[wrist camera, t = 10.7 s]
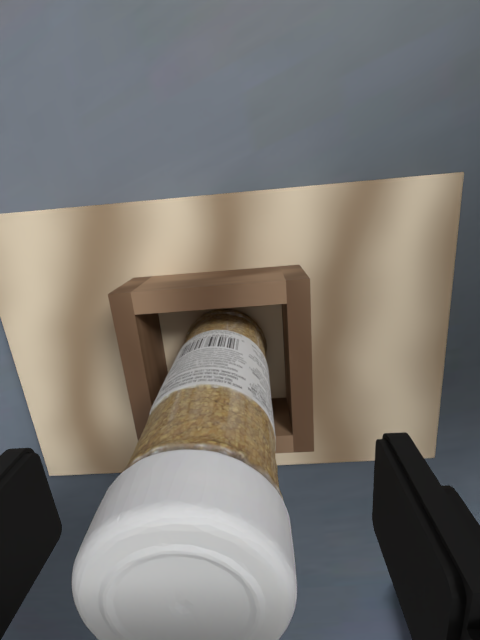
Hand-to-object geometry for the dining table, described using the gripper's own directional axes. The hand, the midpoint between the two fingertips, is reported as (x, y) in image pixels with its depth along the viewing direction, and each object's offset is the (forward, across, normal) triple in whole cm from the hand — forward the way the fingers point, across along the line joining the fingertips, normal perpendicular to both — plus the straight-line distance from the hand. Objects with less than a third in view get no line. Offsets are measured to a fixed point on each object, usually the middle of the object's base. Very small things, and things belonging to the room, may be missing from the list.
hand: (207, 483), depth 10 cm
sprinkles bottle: (+10, 0, 0) cm, 10 cm away
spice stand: (+12, 0, 0) cm, 12 cm away
